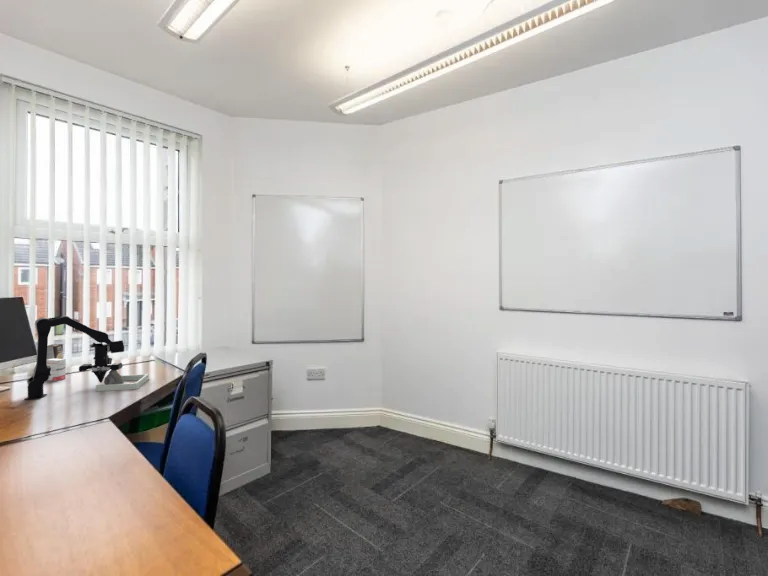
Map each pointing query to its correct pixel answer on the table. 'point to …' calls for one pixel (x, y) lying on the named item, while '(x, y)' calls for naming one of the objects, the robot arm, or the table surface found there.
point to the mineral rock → (113, 378)
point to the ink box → (57, 369)
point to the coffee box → (55, 351)
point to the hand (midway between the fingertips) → (101, 382)
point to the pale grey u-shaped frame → (140, 377)
